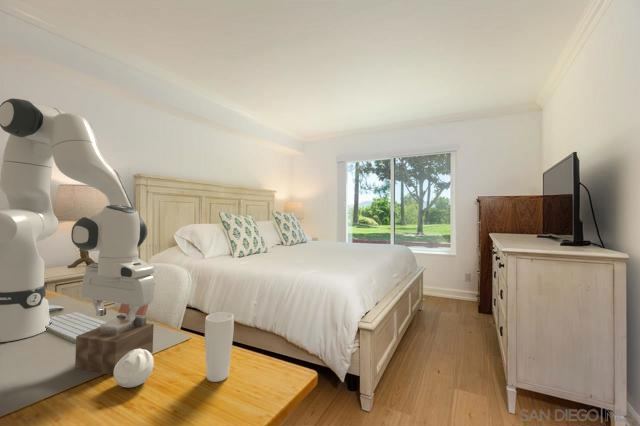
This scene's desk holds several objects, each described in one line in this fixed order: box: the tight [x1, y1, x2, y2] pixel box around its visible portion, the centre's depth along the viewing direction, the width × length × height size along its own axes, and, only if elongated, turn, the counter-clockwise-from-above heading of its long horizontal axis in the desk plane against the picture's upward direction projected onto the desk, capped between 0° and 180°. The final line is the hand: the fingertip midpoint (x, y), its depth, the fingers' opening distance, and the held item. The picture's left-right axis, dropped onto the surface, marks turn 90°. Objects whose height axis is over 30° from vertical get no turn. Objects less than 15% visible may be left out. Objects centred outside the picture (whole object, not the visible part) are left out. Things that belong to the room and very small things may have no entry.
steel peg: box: [99, 317, 134, 335], centre depth 78 cm, size 5×5×9 cm
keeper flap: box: [118, 282, 156, 317], centre depth 84 cm, size 9×8×1 cm
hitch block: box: [74, 313, 154, 376], centre depth 78 cm, size 12×12×10 cm
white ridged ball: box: [113, 348, 155, 389], centre depth 68 cm, size 8×8×8 cm
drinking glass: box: [204, 311, 235, 383], centre depth 72 cm, size 7×7×15 cm
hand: (115, 317), depth 78 cm, fingers open, 8 cm apart
